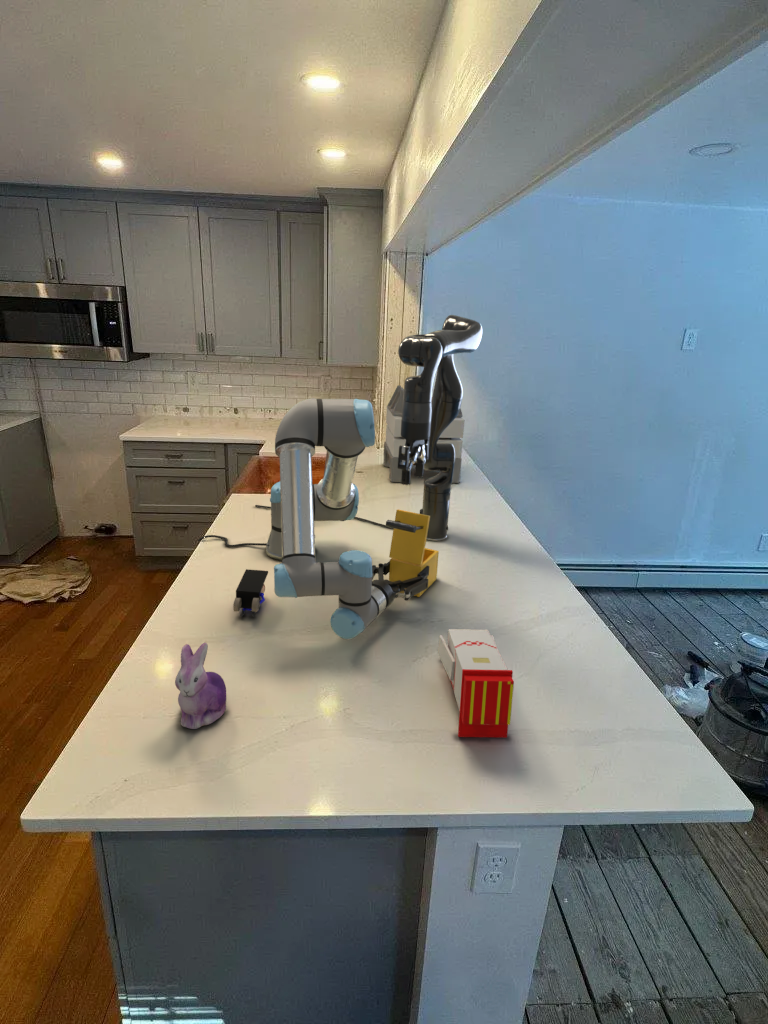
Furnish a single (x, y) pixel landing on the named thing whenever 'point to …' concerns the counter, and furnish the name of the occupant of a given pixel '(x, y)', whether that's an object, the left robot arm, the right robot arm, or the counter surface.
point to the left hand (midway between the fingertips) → (411, 566)
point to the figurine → (199, 690)
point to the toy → (478, 682)
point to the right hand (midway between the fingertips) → (412, 480)
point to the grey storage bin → (395, 439)
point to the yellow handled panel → (408, 536)
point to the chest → (415, 568)
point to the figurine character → (250, 591)
